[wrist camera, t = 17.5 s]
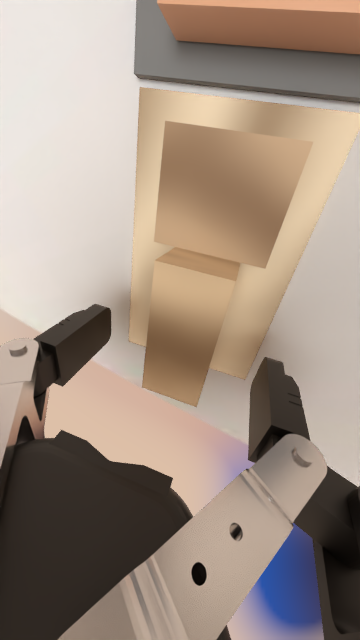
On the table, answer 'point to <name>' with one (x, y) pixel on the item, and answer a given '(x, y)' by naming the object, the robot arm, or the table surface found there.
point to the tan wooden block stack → (210, 240)
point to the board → (302, 215)
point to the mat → (240, 63)
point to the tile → (267, 23)
